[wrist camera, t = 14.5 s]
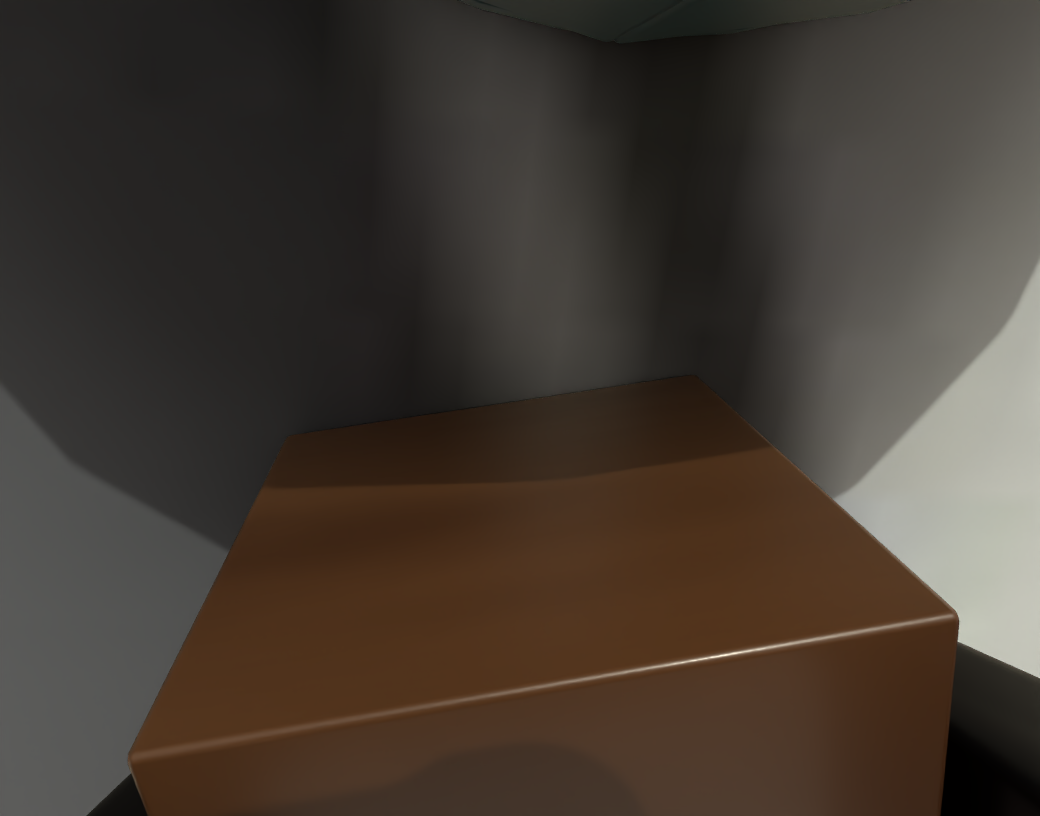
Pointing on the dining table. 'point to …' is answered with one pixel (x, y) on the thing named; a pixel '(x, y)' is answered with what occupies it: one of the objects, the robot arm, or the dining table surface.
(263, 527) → the block
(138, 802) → the robot arm
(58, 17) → the dining table surface
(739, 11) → the pan
